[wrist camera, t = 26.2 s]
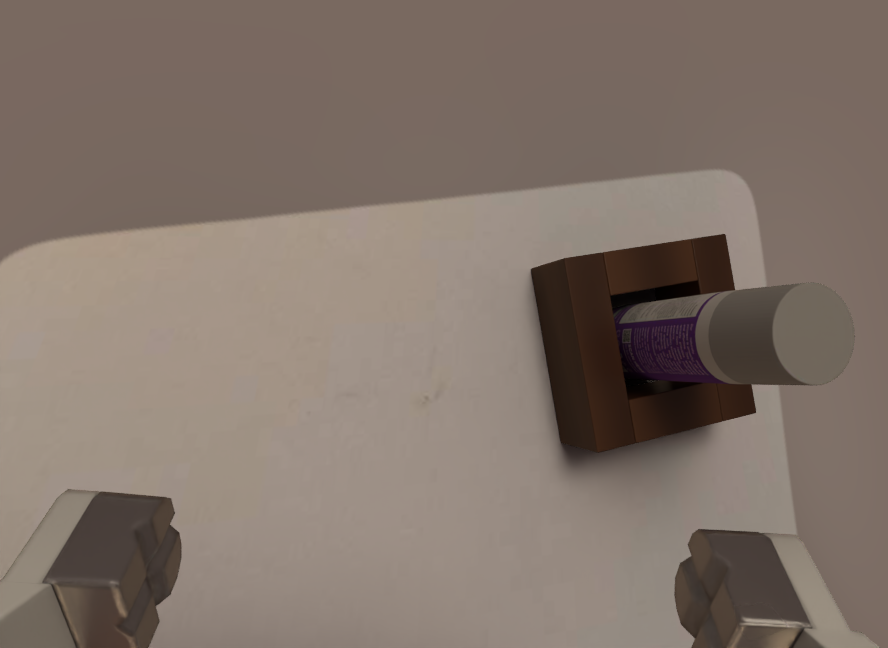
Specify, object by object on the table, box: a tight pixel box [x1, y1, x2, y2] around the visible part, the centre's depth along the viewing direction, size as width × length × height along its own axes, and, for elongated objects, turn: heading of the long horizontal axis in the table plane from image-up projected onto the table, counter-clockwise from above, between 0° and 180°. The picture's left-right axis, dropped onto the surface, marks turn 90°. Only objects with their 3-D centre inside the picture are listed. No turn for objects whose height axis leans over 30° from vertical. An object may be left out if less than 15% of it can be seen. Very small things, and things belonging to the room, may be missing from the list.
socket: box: [531, 234, 756, 453], centre depth 41 cm, size 11×11×4 cm
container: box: [612, 283, 855, 385], centre depth 36 cm, size 5×5×15 cm
